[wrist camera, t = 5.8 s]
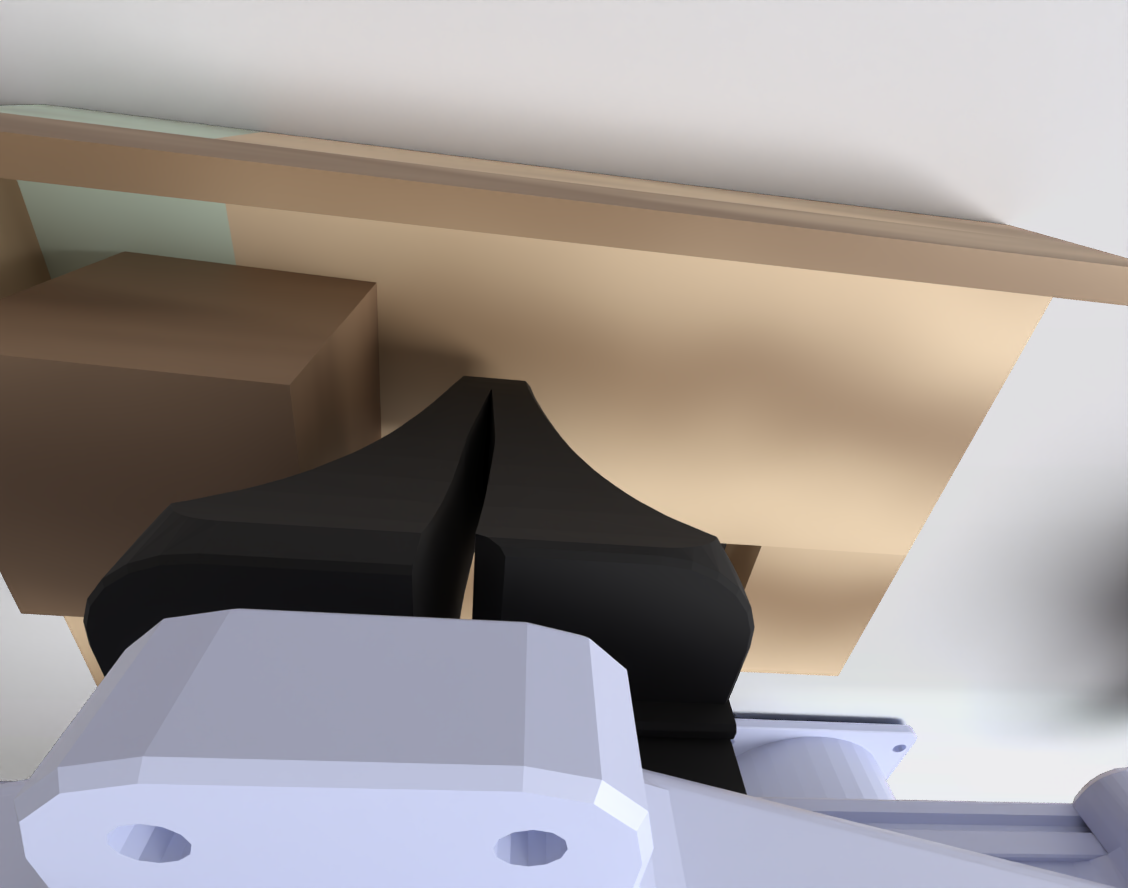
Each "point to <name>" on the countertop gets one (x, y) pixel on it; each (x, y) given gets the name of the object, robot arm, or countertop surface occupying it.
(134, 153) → the platform
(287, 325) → the walnut block
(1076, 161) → the countertop surface
